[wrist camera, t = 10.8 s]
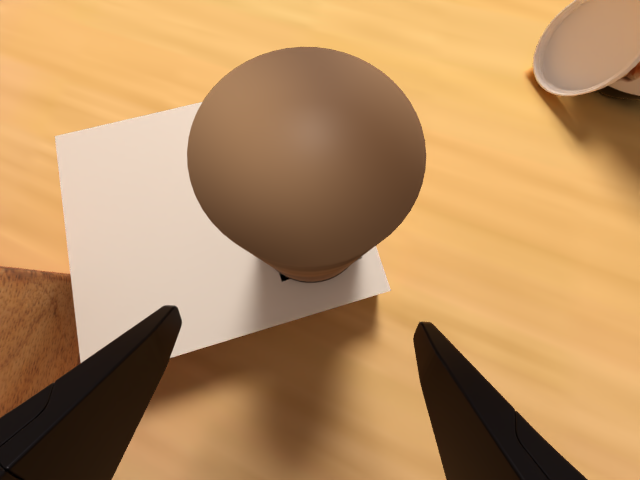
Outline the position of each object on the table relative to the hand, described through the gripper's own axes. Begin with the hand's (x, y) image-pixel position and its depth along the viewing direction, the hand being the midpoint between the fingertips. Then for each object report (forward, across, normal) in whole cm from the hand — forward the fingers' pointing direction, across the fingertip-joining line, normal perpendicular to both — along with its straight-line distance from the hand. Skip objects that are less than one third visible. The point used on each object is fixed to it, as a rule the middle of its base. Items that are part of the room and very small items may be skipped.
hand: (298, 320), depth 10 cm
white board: (+11, +6, +3) cm, 13 cm away
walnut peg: (+10, 0, +3) cm, 10 cm away
